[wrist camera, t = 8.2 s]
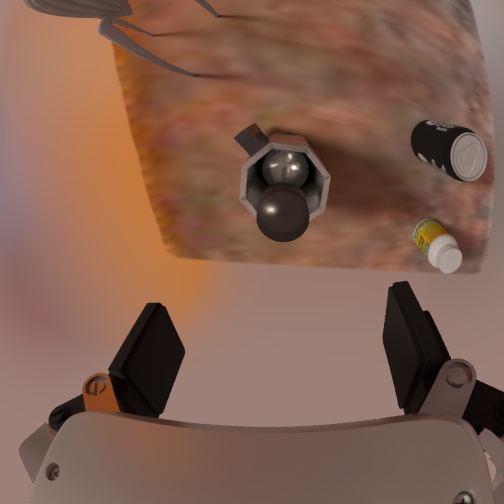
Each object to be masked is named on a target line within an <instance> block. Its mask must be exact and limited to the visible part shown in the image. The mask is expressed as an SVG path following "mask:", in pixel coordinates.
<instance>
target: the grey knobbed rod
mask: <svg viewBox="0 0 504 504" xmlns="http://www.w3.org/2000/svg"><path fill="white" fill-rule="evenodd" d="M262 171H263V176H264V178H265V180H266V182H267V183H268V184H269V185H270V186H269V187H268V188H267V189H266V190H265V191H264V193H263V194H262V196H261V200H260V203H259V206H258V210H257V214H256V219H257V224H258V227H259V229H260V230H261V232H262V233H263V234H264V235H265V236H267V237H268V238H270V239H272V240H274V241H278V242H289V241H292V240H295V239H297V238H299V237H300V236H301V235H302V234H303V233H304V232H305V231H306V229H307V227H308V224H309V210H308V205H307V199H306V196H305V194H304V193H303V191H302V190H301V189H300V188H299V187H300V186H302V185H303V183H304V182H305V181H306V179H307V176H308V164H307V161H306V159H305V157H304V156H303V154H302V153H301V152H296V151H288V150H279V149H274V150H272V151H271V152H270V153H269V154H268V155H267V156H266V158H265V160H264V162H263V167H262Z"/></svg>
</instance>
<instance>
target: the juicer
mask: <svg viewBox="0 0 504 504" xmlns="http://www.w3.org/2000/svg"><path fill="white" fill-rule="evenodd" d="M23 1H24V3H25V4H26V5H27V6H28V7H30V8H32V9H34V10H36V11H39V12H42V13H45V14H50V15H56V16H64V17H75V18H99V19H102V20H101V22H100V23H99V25H98V27H97V31H98V33H99V34H100V35H102V36H104V37H105V38H107V39H109V40H110V41H112V42H113V43H115V44H117V45H119V46H120V47H122V48H124V49H125V50H127V51H129V52H131V53H133V54H135V55H136V56H138V57H140V58H142V59H145V60H147V61H149V62H151V63H153V64H156V65H158V66H160V67H163V68H165V69H168V70H171V71H174V72H177V73H180V74H184V75H188V76H192V77H194V74H193V73H190V72H188V71H185V70H183V69H180V68H178V67H176V66H174V65H171V64H169V63H167V62H166V61H164V60H162V59H160V58H158V57H156V56H155V55H153V54H151V53H150V52H148V51H147V50H145V49H144V48H142V47H141V46H140V45H138V44H137V43H136V42H134V41H133V40H132V39H131V38H129V37H128V36H127V35H126V34H124V33H123V32H122V31H121V30H119V29H118V28H117V27H116V26H115V25H113V24H112V23H114V24H117V25H121V26H124V27H127V28H130V29H133V30H136V31H139V32H142V33H144V34H147V35H150V36H155V35H153V34H151V33H149V32H147V31H145V30H143V29H140V28H138V27H136V26H134V25H132V24H130V23H128V22H126V21H124V20H122V19H120V18H118V17H122V16H127V15H131V14H133V13H132V9H131V7H130V5H129V3H128V1H127V0H23ZM195 1H196V2H198V3H199V4H201V5H202V6H203V7H204V8H206V9H207V10H208V11H209V12H210V13H212V14H213V15H214V16H215V17H218V16H219V15H218V14H217V12H216V11H215V10H214V9H213V8H212V7H211V6H210V5H209V4H208V3H207V2H206V1H205V0H195Z"/></svg>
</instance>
